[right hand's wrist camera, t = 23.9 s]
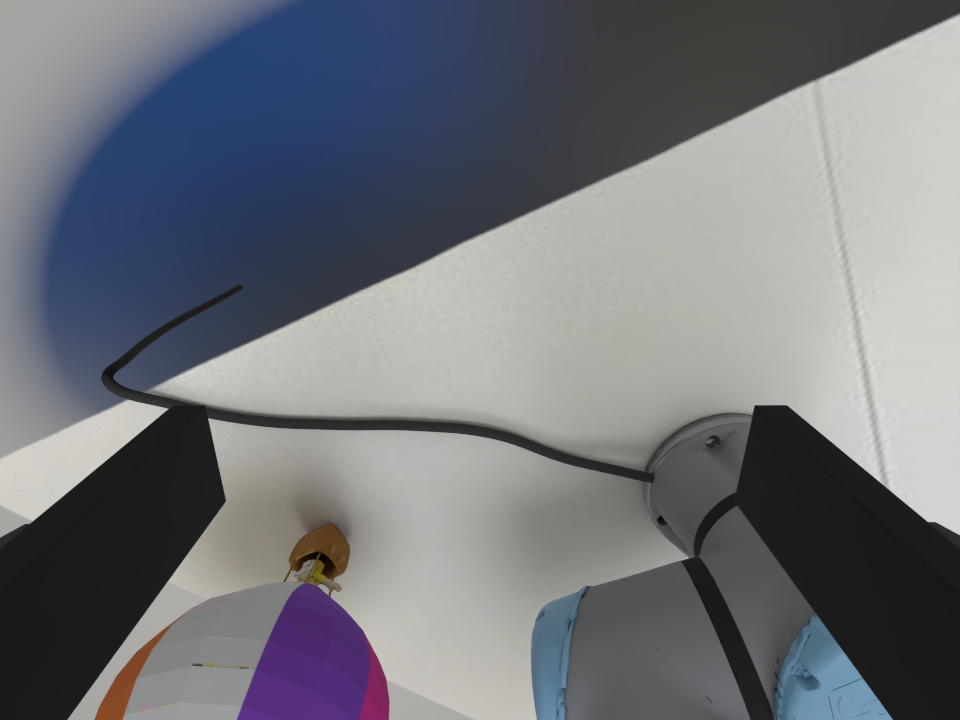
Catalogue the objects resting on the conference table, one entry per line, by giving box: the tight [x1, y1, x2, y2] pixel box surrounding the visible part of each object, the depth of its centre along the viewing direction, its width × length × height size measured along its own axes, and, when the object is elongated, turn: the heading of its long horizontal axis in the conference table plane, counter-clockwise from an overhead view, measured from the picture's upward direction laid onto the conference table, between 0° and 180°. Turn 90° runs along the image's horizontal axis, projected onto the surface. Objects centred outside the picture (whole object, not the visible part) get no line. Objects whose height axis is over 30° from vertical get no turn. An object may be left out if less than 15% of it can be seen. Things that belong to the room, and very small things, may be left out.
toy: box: [95, 524, 389, 720], centre depth 41 cm, size 20×20×30 cm
